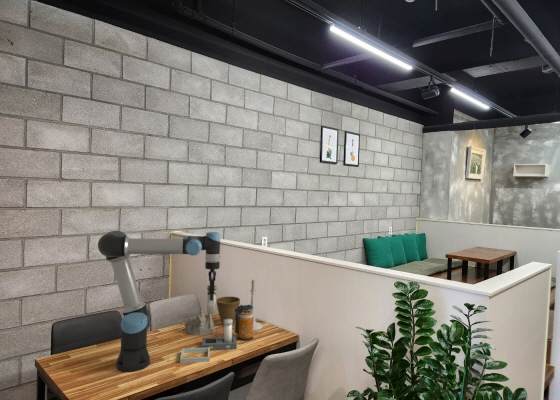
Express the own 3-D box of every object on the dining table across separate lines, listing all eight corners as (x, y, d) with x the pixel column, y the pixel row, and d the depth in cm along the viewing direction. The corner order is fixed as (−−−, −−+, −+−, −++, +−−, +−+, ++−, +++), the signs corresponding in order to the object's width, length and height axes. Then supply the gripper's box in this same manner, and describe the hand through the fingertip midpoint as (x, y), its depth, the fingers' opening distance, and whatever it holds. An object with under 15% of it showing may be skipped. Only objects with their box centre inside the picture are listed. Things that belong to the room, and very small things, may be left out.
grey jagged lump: (219, 332, 227) (218, 307, 227) (196, 340, 215) (195, 314, 215) (204, 326, 238) (202, 303, 238) (181, 334, 226) (180, 309, 226)
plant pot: (231, 319, 251) (232, 295, 251) (244, 325, 240) (244, 300, 240) (211, 323, 242) (212, 298, 242) (223, 330, 230) (224, 304, 230)
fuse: (223, 347, 202) (223, 321, 202) (223, 344, 207) (223, 318, 207) (232, 347, 203) (232, 321, 203) (231, 343, 208) (232, 318, 208)
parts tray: (180, 365, 183) (180, 358, 183) (182, 354, 195) (182, 348, 195) (209, 363, 186) (209, 357, 186) (209, 353, 198) (209, 347, 198)
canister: (255, 341, 215) (256, 306, 214) (236, 343, 210) (237, 308, 210) (250, 335, 223) (251, 302, 222) (232, 338, 219) (233, 303, 218)
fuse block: (201, 352, 198) (202, 345, 198) (202, 345, 208) (202, 337, 208) (236, 351, 201) (236, 343, 201) (235, 343, 211) (235, 336, 211)
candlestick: (248, 332, 229) (249, 282, 228) (238, 325, 239) (239, 278, 239) (266, 328, 236) (267, 280, 235) (256, 322, 246) (257, 276, 246)
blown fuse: (206, 313, 200) (207, 287, 200) (206, 310, 205) (207, 285, 205) (215, 313, 201) (216, 287, 201) (215, 310, 206) (216, 285, 206)
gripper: (219, 264, 195) (218, 309, 195) (219, 258, 212) (218, 299, 212) (205, 264, 193) (203, 309, 194) (205, 258, 211) (204, 300, 211)
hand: (211, 304), depth 203 cm, fingers closed on blown fuse, 4 cm apart
